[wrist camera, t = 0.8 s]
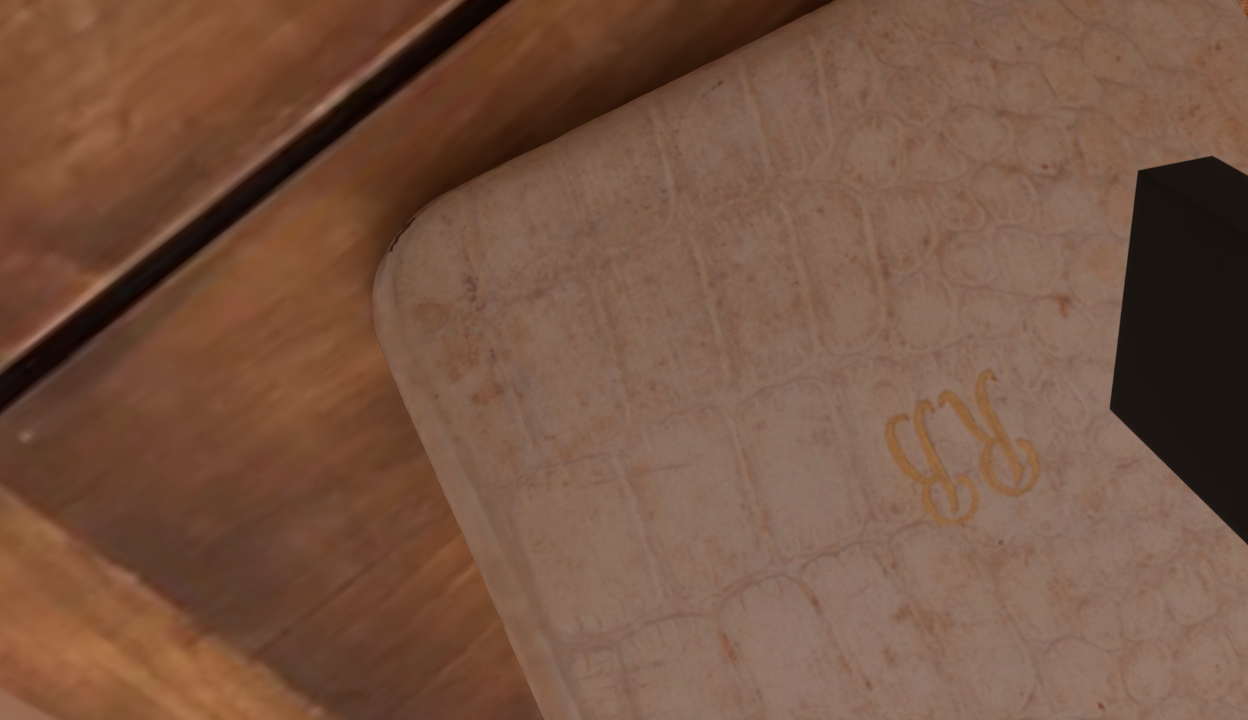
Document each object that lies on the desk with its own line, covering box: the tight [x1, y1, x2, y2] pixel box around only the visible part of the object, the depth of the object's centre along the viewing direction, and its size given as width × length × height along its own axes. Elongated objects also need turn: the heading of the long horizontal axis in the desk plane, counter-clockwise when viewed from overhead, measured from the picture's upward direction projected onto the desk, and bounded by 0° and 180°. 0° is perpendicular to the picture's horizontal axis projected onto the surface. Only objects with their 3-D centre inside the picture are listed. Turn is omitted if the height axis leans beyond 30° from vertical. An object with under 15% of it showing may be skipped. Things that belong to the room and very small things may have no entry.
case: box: [372, 0, 1248, 720], centre depth 27 cm, size 20×21×16 cm
